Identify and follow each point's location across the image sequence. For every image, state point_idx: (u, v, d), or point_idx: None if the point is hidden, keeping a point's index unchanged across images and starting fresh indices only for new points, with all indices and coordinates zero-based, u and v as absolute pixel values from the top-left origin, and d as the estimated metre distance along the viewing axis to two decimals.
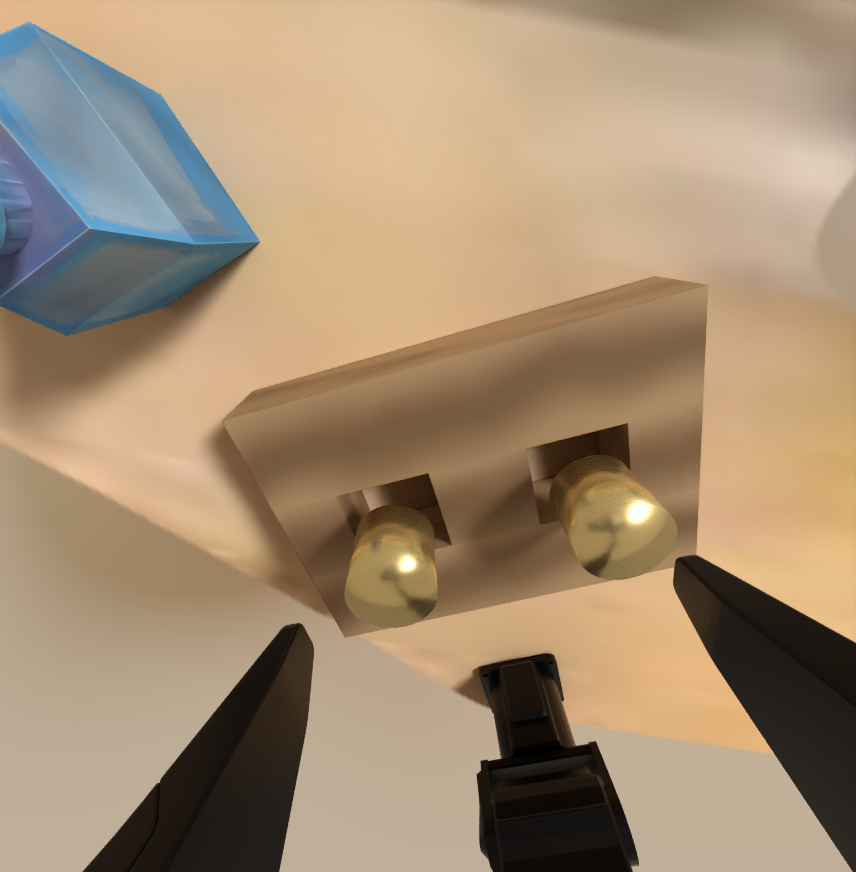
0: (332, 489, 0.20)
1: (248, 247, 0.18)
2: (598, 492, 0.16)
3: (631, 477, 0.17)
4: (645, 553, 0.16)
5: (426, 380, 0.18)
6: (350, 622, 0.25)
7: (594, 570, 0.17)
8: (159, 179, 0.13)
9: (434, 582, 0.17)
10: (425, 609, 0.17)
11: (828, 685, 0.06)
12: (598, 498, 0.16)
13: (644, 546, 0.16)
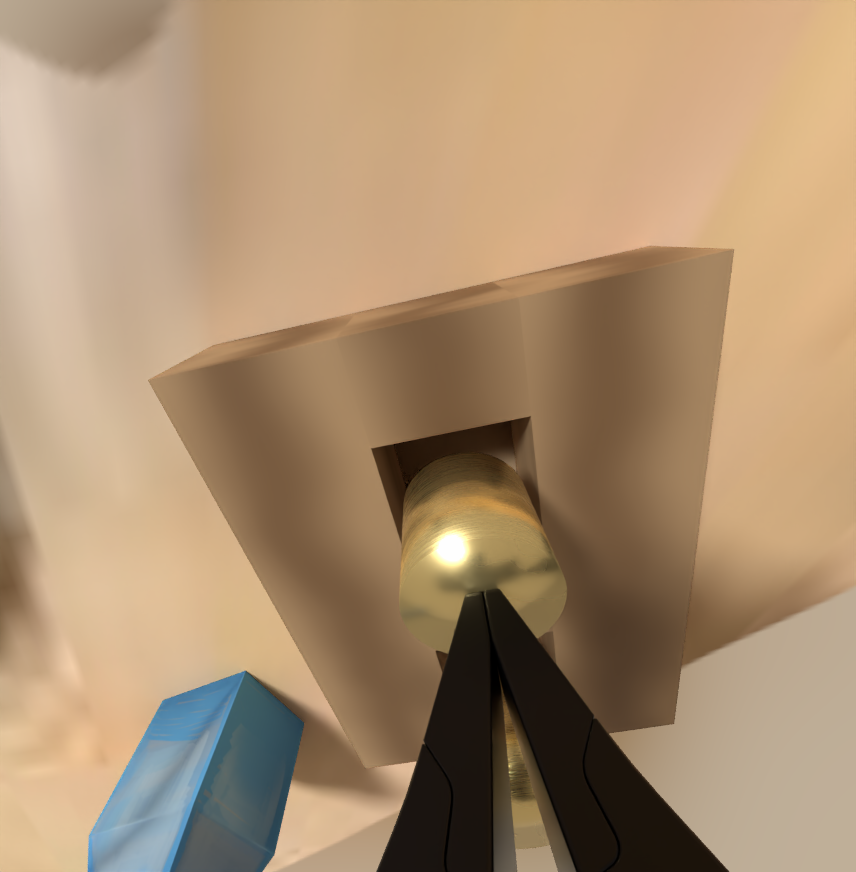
0: None
1: (247, 683, 0.23)
2: None
3: (408, 519, 0.11)
4: (509, 576, 0.09)
5: (317, 650, 0.17)
6: (649, 718, 0.20)
7: None
8: (164, 794, 0.19)
9: (517, 794, 0.12)
10: None
11: (526, 730, 0.06)
12: None
13: (494, 579, 0.09)
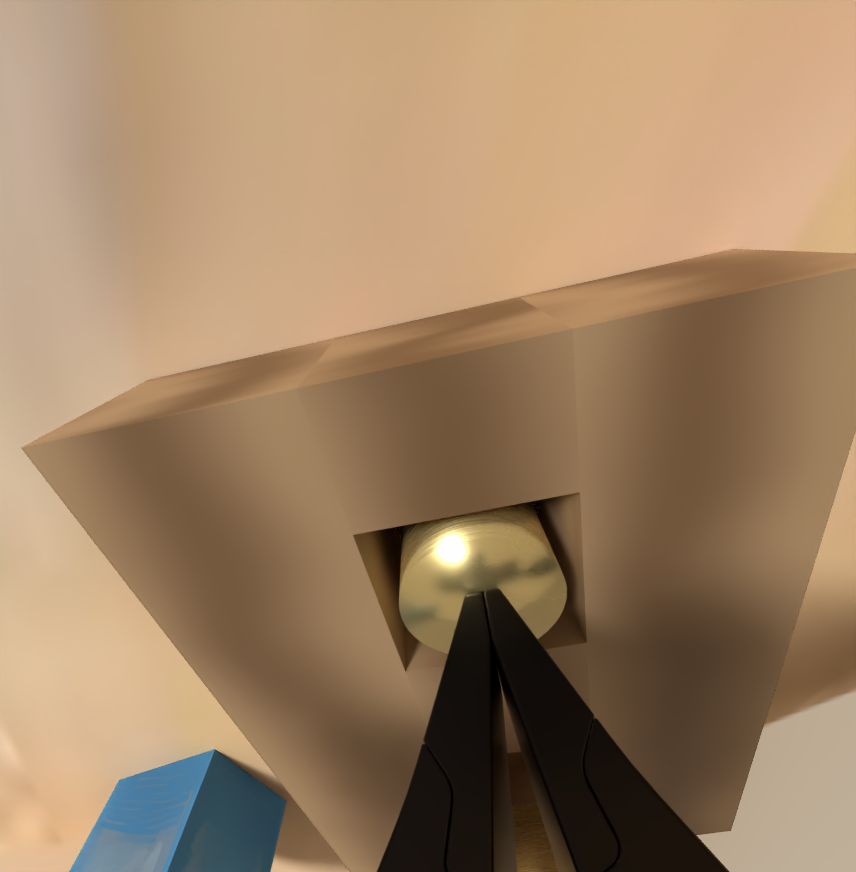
0: None
1: (217, 764, 0.20)
2: None
3: None
4: (509, 576, 0.09)
5: (290, 764, 0.13)
6: (701, 825, 0.16)
7: None
8: None
9: None
10: None
11: (526, 730, 0.06)
12: None
13: (494, 579, 0.09)
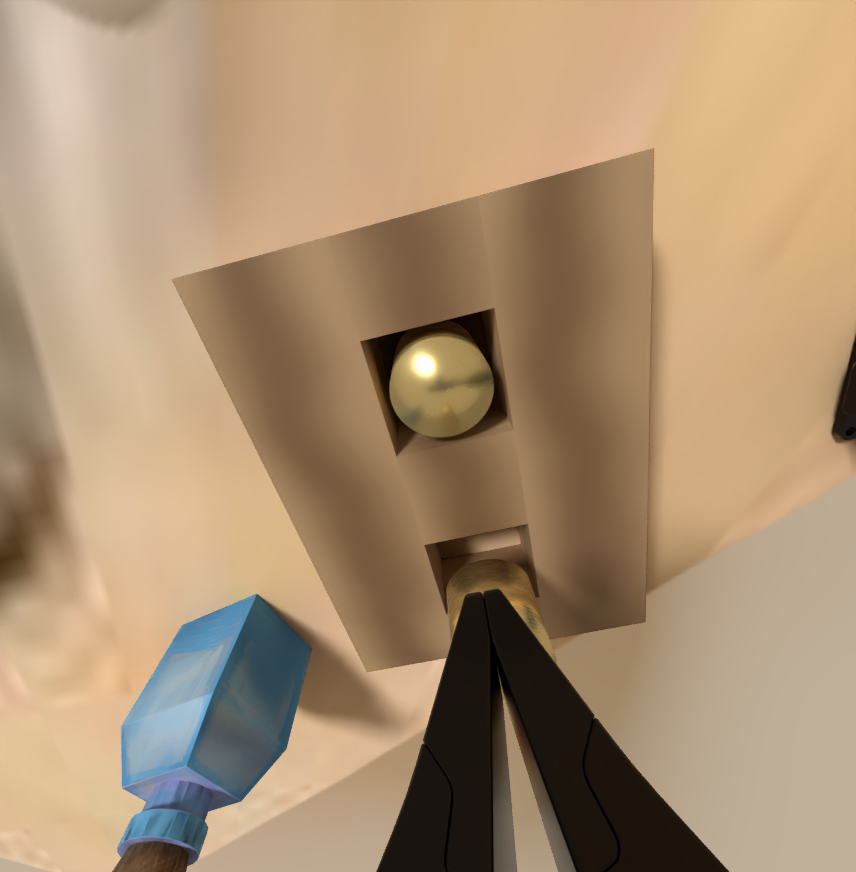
0: (437, 616, 0.21)
1: (259, 604, 0.25)
2: None
3: (395, 355, 0.17)
4: (456, 368, 0.15)
5: (320, 545, 0.19)
6: (622, 616, 0.22)
7: (476, 417, 0.16)
8: (187, 688, 0.21)
9: None
10: None
11: (526, 730, 0.06)
12: None
13: (447, 371, 0.15)
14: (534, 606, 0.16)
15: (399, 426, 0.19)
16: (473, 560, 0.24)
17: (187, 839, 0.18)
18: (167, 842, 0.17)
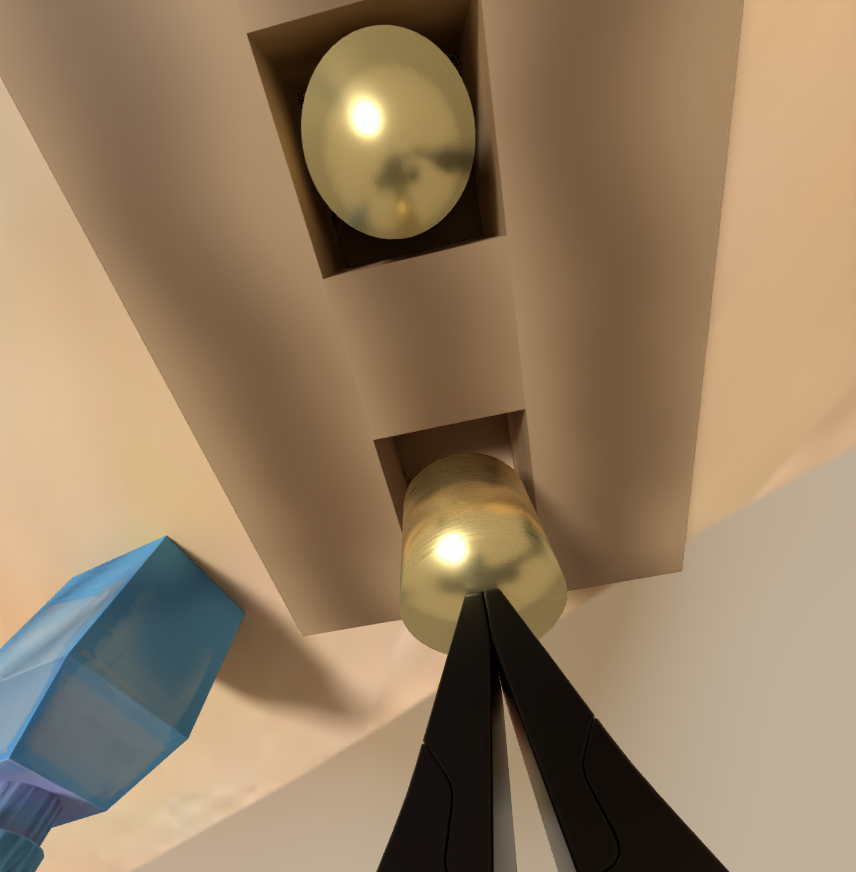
0: (396, 555, 0.15)
1: (168, 548, 0.19)
2: None
3: None
4: (413, 95, 0.09)
5: (218, 436, 0.13)
6: (651, 561, 0.16)
7: (446, 200, 0.10)
8: (41, 651, 0.15)
9: (461, 541, 0.09)
10: (529, 558, 0.09)
11: (526, 730, 0.06)
12: None
13: (397, 101, 0.09)
14: (532, 513, 0.10)
15: (342, 270, 0.13)
16: None
17: None
18: None
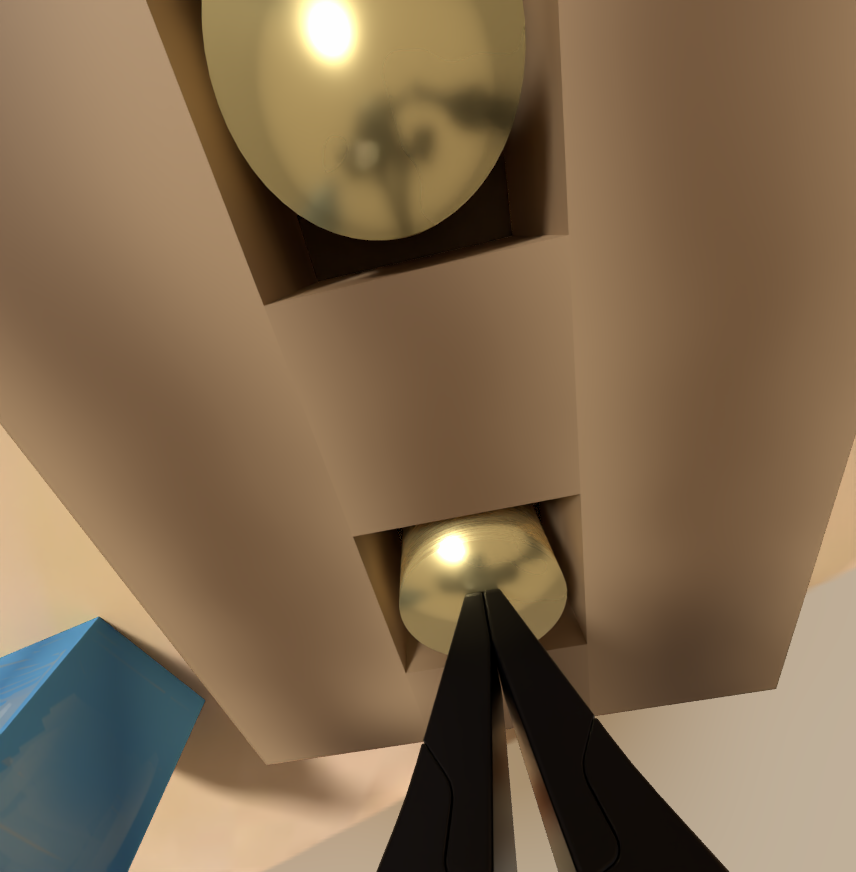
0: (389, 676, 0.11)
1: (100, 634, 0.15)
2: None
3: None
4: None
5: (122, 533, 0.08)
6: (737, 678, 0.12)
7: (469, 172, 0.06)
8: None
9: (460, 542, 0.09)
10: (529, 558, 0.09)
11: (526, 730, 0.06)
12: None
13: None
14: (532, 513, 0.10)
15: (308, 285, 0.09)
16: None
17: None
18: None
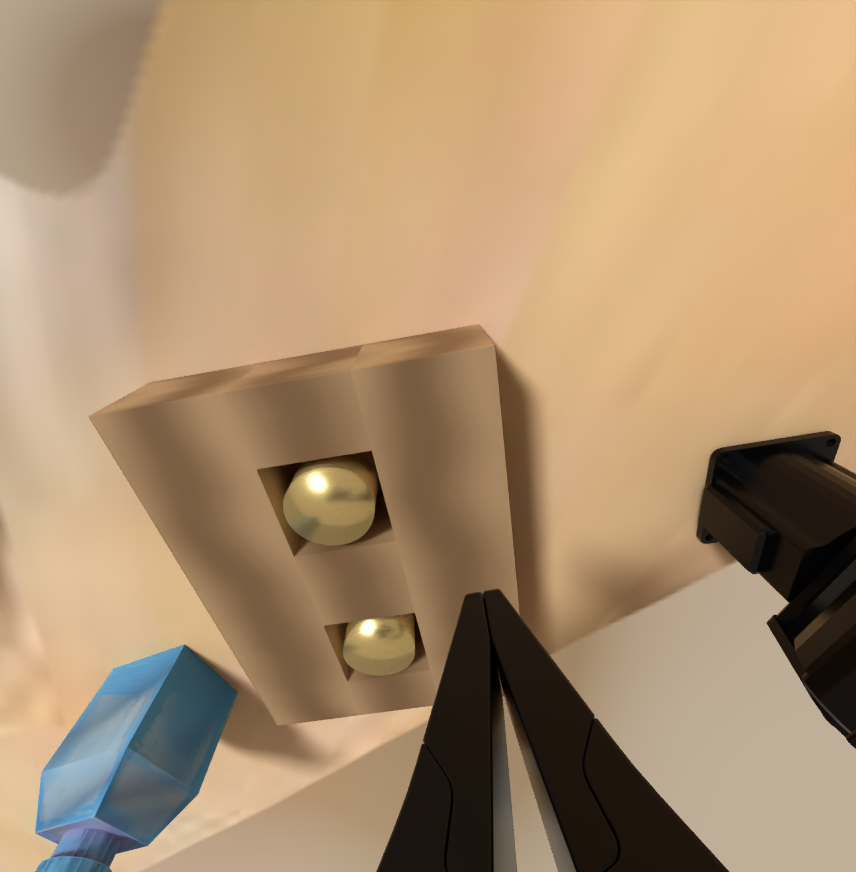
0: (339, 682, 0.23)
1: (185, 654, 0.27)
2: None
3: None
4: (340, 495, 0.17)
5: (229, 623, 0.21)
6: None
7: (360, 531, 0.18)
8: (106, 739, 0.23)
9: (367, 629, 0.21)
10: (396, 636, 0.21)
11: (526, 730, 0.06)
12: None
13: (332, 496, 0.17)
14: None
15: None
16: None
17: None
18: None
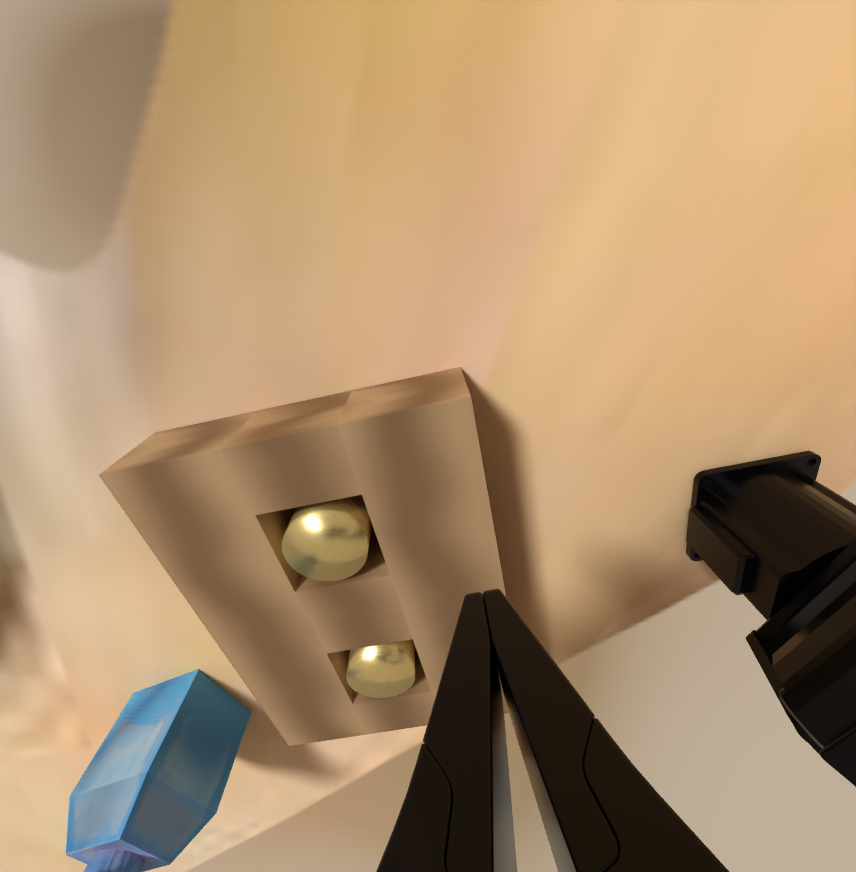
0: (345, 705, 0.25)
1: (200, 679, 0.29)
2: None
3: (295, 509, 0.20)
4: (335, 536, 0.18)
5: (237, 653, 0.22)
6: (505, 705, 0.25)
7: (355, 567, 0.19)
8: (127, 764, 0.24)
9: (368, 656, 0.22)
10: (396, 661, 0.22)
11: (526, 730, 0.06)
12: None
13: (327, 537, 0.18)
14: None
15: None
16: None
17: None
18: None
